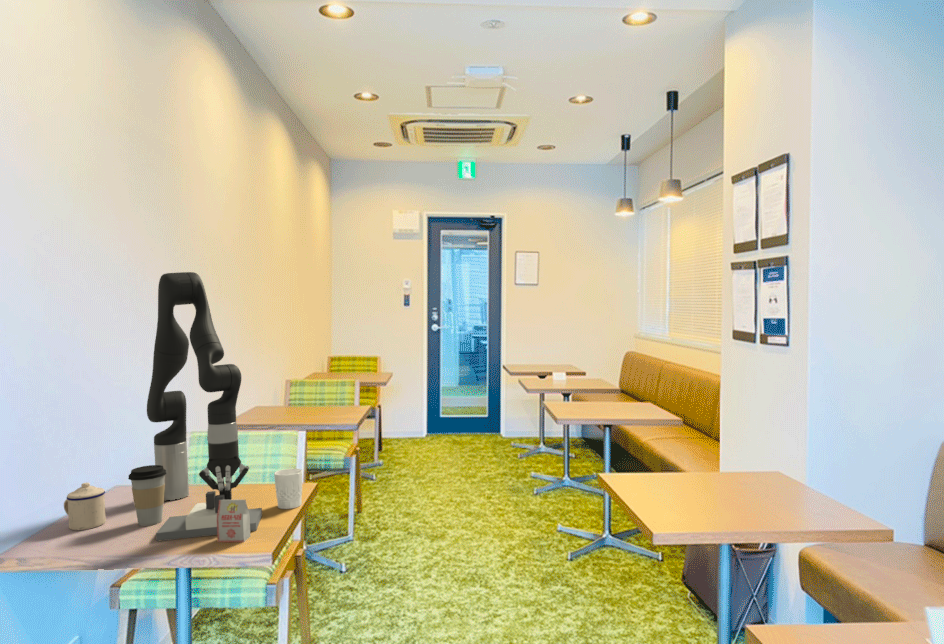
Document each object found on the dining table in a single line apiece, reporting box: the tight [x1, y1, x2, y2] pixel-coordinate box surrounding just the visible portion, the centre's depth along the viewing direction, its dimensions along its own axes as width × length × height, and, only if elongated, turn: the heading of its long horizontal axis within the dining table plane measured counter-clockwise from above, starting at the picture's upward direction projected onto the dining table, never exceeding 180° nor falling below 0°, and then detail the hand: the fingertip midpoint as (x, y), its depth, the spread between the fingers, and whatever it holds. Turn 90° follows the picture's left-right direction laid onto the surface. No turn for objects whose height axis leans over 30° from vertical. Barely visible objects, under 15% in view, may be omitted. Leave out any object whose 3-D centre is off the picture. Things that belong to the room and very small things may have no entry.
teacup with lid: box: [63, 482, 107, 531], centre depth 173 cm, size 12×9×12 cm
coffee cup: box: [127, 464, 167, 527], centre depth 173 cm, size 9×9×15 cm
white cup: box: [274, 468, 303, 510], centre depth 183 cm, size 8×8×10 cm
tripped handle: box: [205, 490, 217, 509], centre depth 167 cm, size 2×2×4 cm
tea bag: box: [217, 499, 251, 543], centre depth 157 cm, size 4×7×10 cm, turn 85°
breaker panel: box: [155, 494, 263, 542], centre depth 167 cm, size 13×24×9 cm, turn 102°
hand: (225, 503), depth 168 cm, fingers closed
